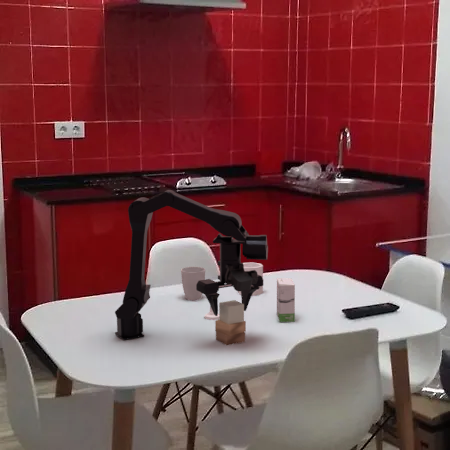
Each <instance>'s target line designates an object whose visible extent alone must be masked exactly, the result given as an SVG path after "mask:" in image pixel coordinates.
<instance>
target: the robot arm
mask: <svg viewBox="0 0 450 450" xmlns="http://www.w3.org/2000/svg"><path fill="white" fill-rule="evenodd" d="M165 207H170V208H172V209H174V210H177V211H178V212H181V213H184V214H186V215H189V216H191V217H193V218H196V219H198V220H200V221H202V222H204V223H207V224H208V225H209V226H210V227H211V228H213V229H214V230H215V231H217V232H218V234H217V236H216V237H215V238H214V239H213V240H212V243H213V244H219V260H217V266H219V274H218V275H217V281H216V280H213V279H211V278H208V279H206V278H205V280H199V281H198V283H197V284H196V290H197V291H199V292H201V293H203V294H202V295H204V296H205V297H206V299H207V301H208V303H209V305H210V306H211V308H212V310H213V313H214V315H215V316H218V314H219V304H218V303H219V301H218V300H219V299H218V298H219V296H220V293H219V289H224V288H230V287H231V288H232V287H233V289H234V290H235V291H236V292H238V291H241V295H240V296H241V303H242V304H244V312H247V309H248V306H249V303H250V302H251V301H250V300H251V298H252V297H253V296H252V294H253V292H255V291H256V290H257V289H259V288H260V286H263V287H264V277H263V278H262V276H260V275H258V274H257V272H256V271H255V270H252V271H244V265H243V263H244V262H241V258H242V257H241V253H242V256H243V257H244V258H246V260H261V261H263V260H264V261H267V260H268V253H269V244H268V238H267V236H268V235H267V234H259V235H257V234H256V235H255V234H253V235H252V234H251V235H250V234H249V232H248V231H247V230H246V228H245V227H244V225H242V218H241V216H240V215H239V214H237V213H236V212H232V211H229V210H224V209H217V208H213V207H210V206H208V205H205V204H203V203H201V202H198V201H195V200H193V198H192V199H191V198H189V197H186V196H184V195H182V194H180V193H178V192H176V191H174V190H171V189H166V190H165V191H164V192H161V193H159V194H155V195H154V196H151V197H149V198H147V197H139V198H137V199H135V200H134V201H132V202H131V203H130V204H129V205H128V208H127V212H128V213H127V214H128V221H129V226H130V230H131V243H130V246H131V247H130V261H129V276H128V282H127V285H126V287H125V291H124V295H123V299H122V304H121V305H120V306H119V307H118V308H117V309H116V310H115V311H114V314H115V316H116V331H115V332H114V334H115V335H116V337H118V338H120V339H122V340H123V341H124V340H130V339H136V338H143V337H144V336H145V334H144V321H143V318H142V314H141V313H140V311H141V310H142V309H143V307H144V306H145V305H146V304H147V302H148V301H149V300H150V298H151V295H150V291H151V285H152V284H146V280H145V273H146V272H145V271H146V259H147V258H146V257H147V256H146V255H147V240H148V230H149V227H150V223H151V221H152V219H153V218H152V217H153V213H154V212H157V211H159V210H160V209H161V210H162V209H163V208H165ZM241 245H242V246H241ZM241 247H242V248H241ZM241 249H242V252H241Z"/></svg>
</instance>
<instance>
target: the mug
mask: <svg viewBox="0 0 450 450" xmlns="http://www.w3.org/2000/svg"><path fill="white" fill-rule="evenodd" d="M242 263H243V265H244V271H252V270H255V271H256V272H257V274H258V275H260V276H262V278H263V279H264V265H263V264H262V263H257V262H253V261H252V262H242ZM237 292H238V294H239V296H241V291H237ZM263 292H264V285H263V286H260V288H259V289H257V290H256V291H255V292H253V294H252V296H251V297H253V296H254V297H257V295H258V296H260V295H263V294H262V293H263Z"/></svg>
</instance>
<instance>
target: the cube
mask: <svg viewBox="0 0 450 450" xmlns="http://www.w3.org/2000/svg"><path fill="white" fill-rule="evenodd" d="M218 303H219V304H218V314H219V319H218V320H221V321H223V322H225V323H227V324H234V323H239V322H244V321H245V311H244V304H242V302H240V301H237V300H235V299H232V300H227V301H222V302H221V301H220V302H218Z"/></svg>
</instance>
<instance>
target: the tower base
mask: <svg viewBox="0 0 450 450" xmlns="http://www.w3.org/2000/svg"><path fill="white" fill-rule="evenodd" d="M215 340H216V341H217V342H220V343H222V344H224V345H225V346H231V345H236V344H241V343H246V331H245V332H242V333H239V334H235V335H232V336H228V335H225V334H223V333H220V332H217V331H215Z"/></svg>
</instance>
